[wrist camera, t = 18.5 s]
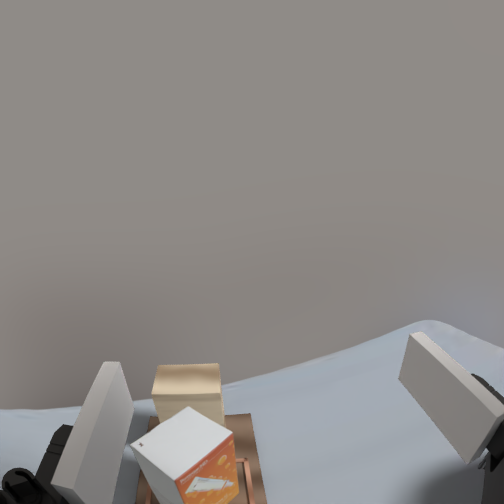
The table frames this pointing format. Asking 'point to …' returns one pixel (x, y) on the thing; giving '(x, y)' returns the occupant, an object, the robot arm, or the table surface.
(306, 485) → the table surface
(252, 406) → the table surface
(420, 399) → the robot arm
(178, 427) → the small box
